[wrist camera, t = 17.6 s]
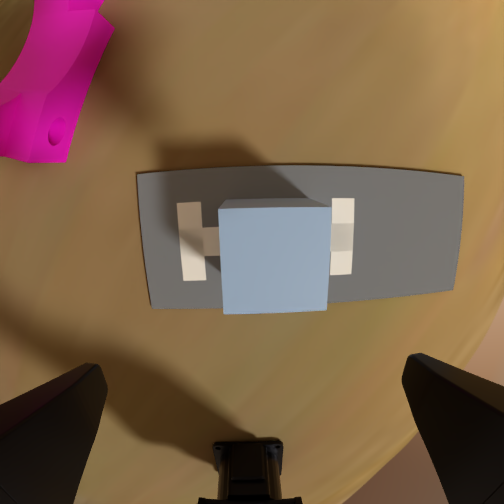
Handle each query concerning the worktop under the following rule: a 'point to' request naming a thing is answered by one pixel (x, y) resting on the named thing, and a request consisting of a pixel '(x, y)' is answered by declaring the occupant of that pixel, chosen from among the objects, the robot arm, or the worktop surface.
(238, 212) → the slate blue cube
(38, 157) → the toy block
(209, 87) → the worktop surface
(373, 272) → the letter mat
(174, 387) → the worktop surface
